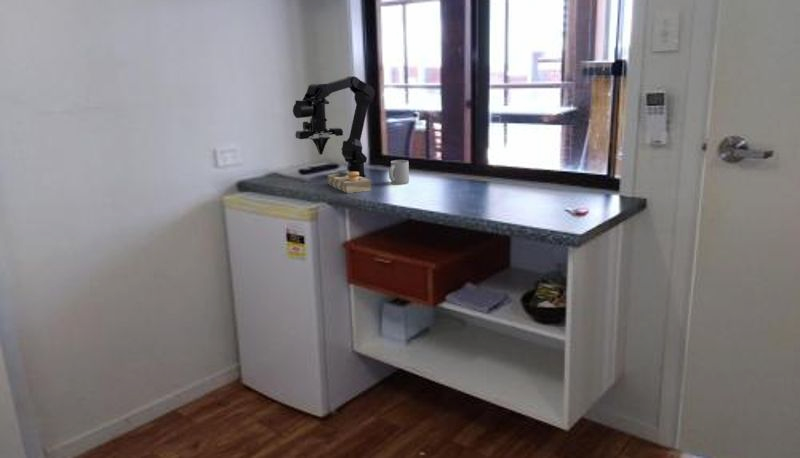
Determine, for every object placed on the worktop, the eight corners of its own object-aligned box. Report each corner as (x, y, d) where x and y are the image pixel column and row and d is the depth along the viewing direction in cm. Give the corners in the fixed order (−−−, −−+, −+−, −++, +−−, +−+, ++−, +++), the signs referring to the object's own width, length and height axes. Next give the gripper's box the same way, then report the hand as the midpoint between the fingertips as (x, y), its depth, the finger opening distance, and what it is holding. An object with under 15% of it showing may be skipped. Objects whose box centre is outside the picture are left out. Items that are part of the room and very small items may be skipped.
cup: (412, 182, 255) (412, 161, 252) (396, 186, 248) (396, 164, 245) (399, 180, 259) (398, 159, 257) (383, 184, 252) (382, 162, 250)
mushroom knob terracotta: (356, 185, 246) (356, 171, 245) (361, 187, 243) (361, 172, 241) (346, 186, 244) (345, 172, 243) (350, 188, 241) (350, 174, 239)
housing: (328, 184, 254) (327, 175, 253) (350, 181, 259) (350, 172, 258) (347, 193, 237) (346, 183, 236) (370, 190, 242) (370, 180, 241)
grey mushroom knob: (347, 183, 255) (346, 169, 254) (351, 185, 251) (351, 171, 250) (336, 184, 253) (336, 170, 252) (341, 186, 249) (340, 172, 248)
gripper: (331, 113, 262) (333, 149, 266) (289, 116, 253) (292, 154, 257) (342, 114, 253) (344, 153, 257) (299, 118, 244) (301, 157, 248)
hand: (320, 154), depth 255 cm, fingers closed
